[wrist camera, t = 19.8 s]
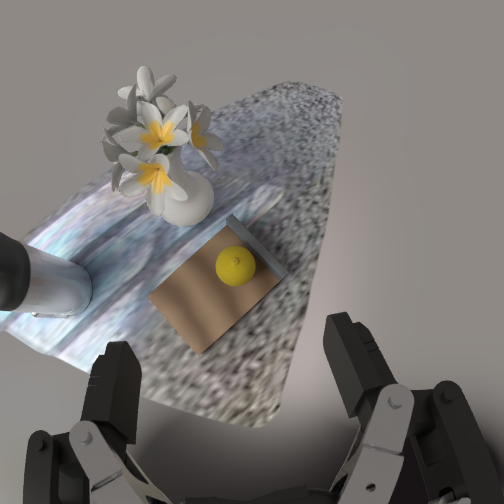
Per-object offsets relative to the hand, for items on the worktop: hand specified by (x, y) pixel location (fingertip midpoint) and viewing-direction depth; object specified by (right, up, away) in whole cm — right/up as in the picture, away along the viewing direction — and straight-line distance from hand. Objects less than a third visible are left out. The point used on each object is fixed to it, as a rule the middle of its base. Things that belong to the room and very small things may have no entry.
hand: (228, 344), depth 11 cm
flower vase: (-10, +12, +37) cm, 40 cm away
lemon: (-2, +1, +33) cm, 33 cm away
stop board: (-5, -2, +34) cm, 34 cm away
